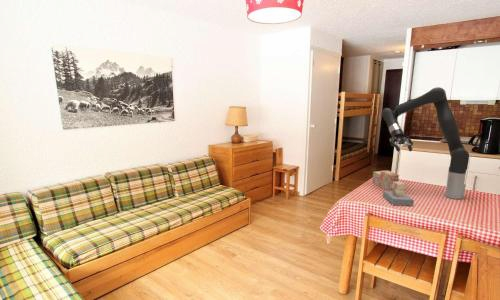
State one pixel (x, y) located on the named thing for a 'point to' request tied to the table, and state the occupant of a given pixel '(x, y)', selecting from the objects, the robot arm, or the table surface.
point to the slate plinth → (398, 199)
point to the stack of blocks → (385, 179)
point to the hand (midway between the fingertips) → (405, 150)
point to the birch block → (398, 189)
